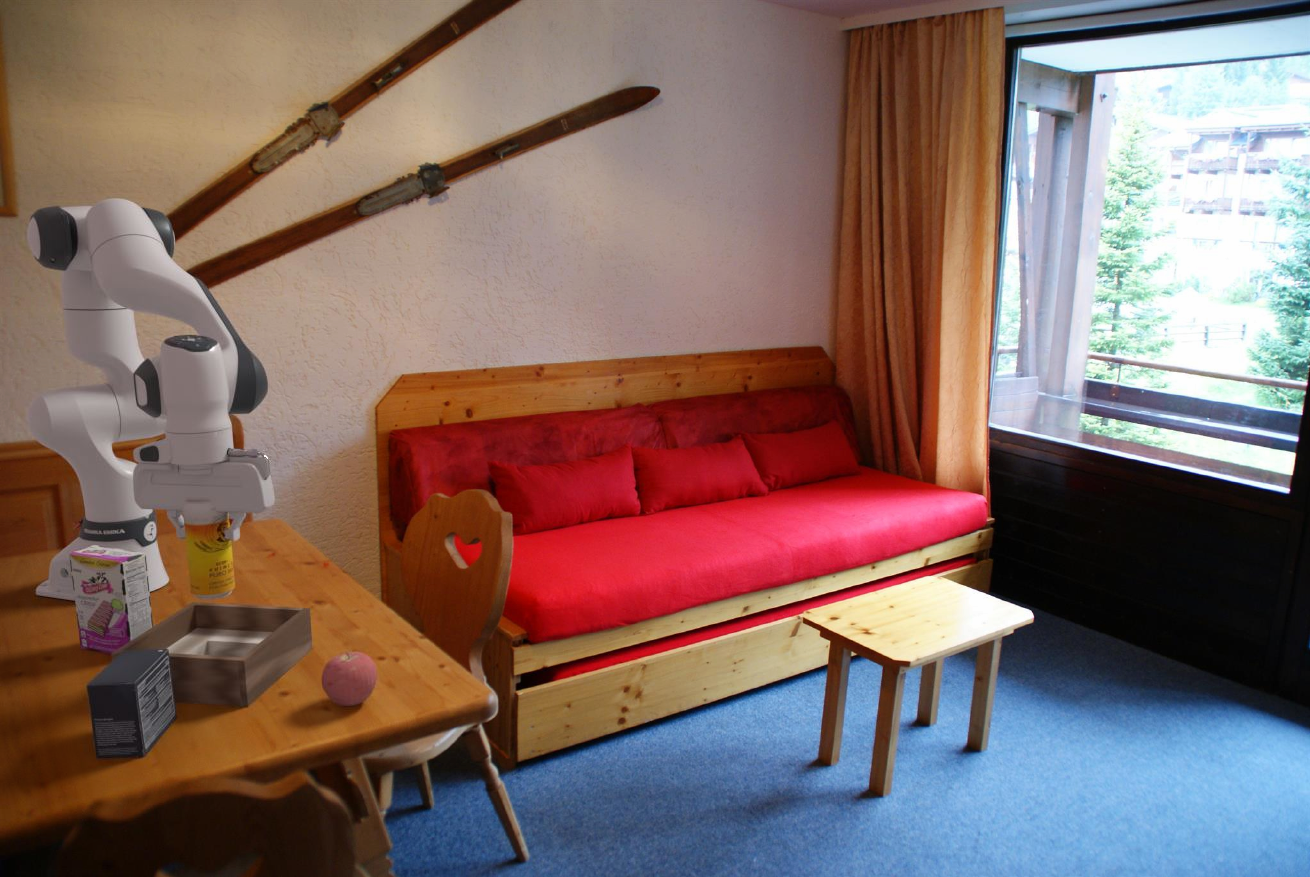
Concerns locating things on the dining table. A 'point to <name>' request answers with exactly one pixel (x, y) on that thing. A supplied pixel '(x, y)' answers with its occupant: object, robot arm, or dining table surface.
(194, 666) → the wooden box
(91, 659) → the dining table surface
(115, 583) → the candy bar box
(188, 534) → the beer can
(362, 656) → the apple
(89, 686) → the small box
